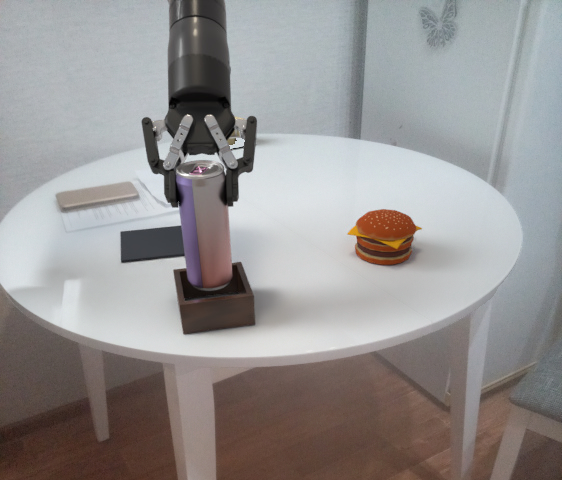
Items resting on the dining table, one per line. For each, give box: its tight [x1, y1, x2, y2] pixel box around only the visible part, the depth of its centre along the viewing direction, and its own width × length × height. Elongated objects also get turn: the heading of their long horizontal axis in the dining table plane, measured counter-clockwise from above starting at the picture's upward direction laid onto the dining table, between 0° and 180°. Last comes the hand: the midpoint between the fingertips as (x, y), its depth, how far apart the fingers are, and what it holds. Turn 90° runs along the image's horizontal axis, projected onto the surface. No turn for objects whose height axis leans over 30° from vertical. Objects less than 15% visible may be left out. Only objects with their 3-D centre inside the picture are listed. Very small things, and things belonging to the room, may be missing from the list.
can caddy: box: [172, 261, 256, 335], centre depth 76 cm, size 10×10×4 cm
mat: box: [119, 224, 185, 263], centre depth 94 cm, size 11×11×1 cm
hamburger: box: [346, 208, 423, 266], centre depth 89 cm, size 9×10×7 cm
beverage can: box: [176, 159, 233, 291], centre depth 70 cm, size 6×6×15 cm
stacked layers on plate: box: [227, 115, 245, 151], centre depth 134 cm, size 10×9×6 cm
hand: (202, 204), depth 66 cm, fingers closed on beverage can, 6 cm apart
